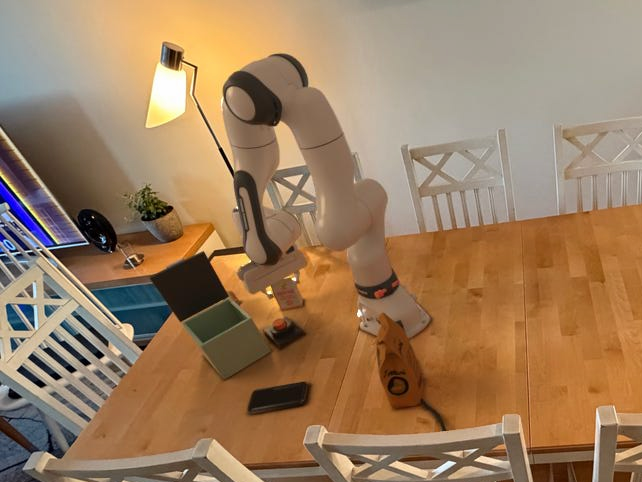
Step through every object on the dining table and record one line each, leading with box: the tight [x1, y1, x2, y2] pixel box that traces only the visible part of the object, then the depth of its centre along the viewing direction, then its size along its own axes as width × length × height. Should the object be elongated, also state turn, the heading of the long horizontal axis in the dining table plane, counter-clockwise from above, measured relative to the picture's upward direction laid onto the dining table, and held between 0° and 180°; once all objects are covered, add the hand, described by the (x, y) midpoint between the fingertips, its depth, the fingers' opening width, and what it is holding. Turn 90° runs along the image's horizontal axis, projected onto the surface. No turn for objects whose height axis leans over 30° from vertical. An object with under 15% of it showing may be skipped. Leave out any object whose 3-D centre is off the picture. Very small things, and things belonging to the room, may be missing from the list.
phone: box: [246, 381, 309, 415], centre depth 133 cm, size 8×1×15 cm
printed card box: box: [270, 277, 304, 311], centre depth 161 cm, size 4×7×10 cm, turn 97°
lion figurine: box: [224, 289, 241, 308], centre depth 163 cm, size 15×5×9 cm, turn 34°
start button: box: [272, 318, 287, 330], centre depth 151 cm, size 4×4×2 cm
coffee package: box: [375, 313, 425, 409], centre depth 122 cm, size 10×12×22 cm
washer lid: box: [148, 250, 229, 323], centre depth 140 cm, size 17×15×4 cm
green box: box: [180, 297, 272, 380], centre depth 146 cm, size 16×15×13 cm
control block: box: [262, 316, 305, 350], centre depth 153 cm, size 11×8×4 cm
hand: (284, 290), depth 161 cm, fingers open, 8 cm apart
